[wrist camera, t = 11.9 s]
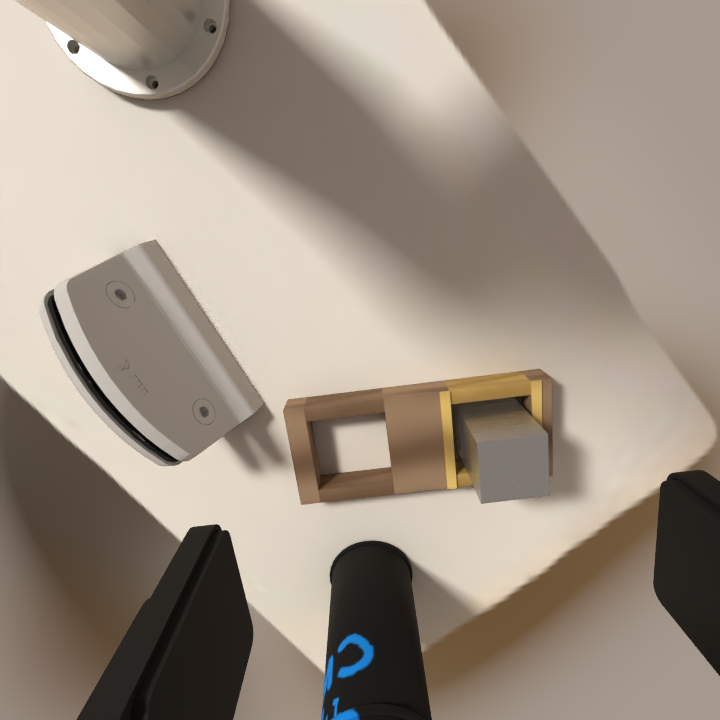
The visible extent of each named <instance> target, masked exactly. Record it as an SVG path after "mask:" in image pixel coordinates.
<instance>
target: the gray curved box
mask: <svg viewBox="0 0 720 720" xmlns="http://www.w3.org/2000/svg"><path fill="white" fill-rule="evenodd" d="M39 312H40V315H41V318H42V322H43V325H44V328H45V330H46V333H47V335H48V338H49V340H50V342H51V345H52V347H53V349H54V351H55V353H56V355H57V357H58V359H59V361H60V363H61V365H62V366H63V368H64V370H65V372H66V373H67V375H68V377H69V378H70V380H71V381H72V383H73V384H74V386H75V387H76V389H77V390H78V392H79V393H80V394H81V396H82V397H83V398H84V400H85V401H86V402H87V404H88V405H89V406H90V407H91V408H92V409H93V411H94V412H95V413H96V414H97V415H98V416H99V417H100V419H101V420H102V421H103V422H104V423H105V424H106V425H107V426H108V427H109V428H110V429H111V430H112V431H113V432H114V433H116V434H117V435H118V436H119V437H120V438H121V439H122V440H123V441H125V442H126V443H127V444H128V445H130V446H131V447H132V448H133V449H135V450H136V451H138V452H139V453H140V454H142V455H143V456H144V457H146V458H148V459H149V460H151V461H153V462H154V463H156V464H157V465H160V466H175V465H178V464H180V463H182V462H183V461H189V460H191V459H192V458H194V457H195V456H197V455H198V454H199V453H201V452H202V451H204V450H205V449H206V448H208V447H209V446H210V445H212V444H213V443H214V442H216V441H217V440H218V439H220V438H221V437H223V436H224V435H225V434H227V433H228V432H229V431H231V430H232V429H233V428H235V427H236V426H237V425H239V424H240V423H242V422H243V421H244V420H246V419H247V418H248V417H250V416H251V415H252V414H254V413H255V412H256V411H257V410H258V409H259V408H260V407H261V406H262V405H263V404H264V402H263V400H262V399H261V397H260V396H259V394H258V393H257V391H256V390H255V388H254V387H253V385H252V384H251V382H250V381H249V379H248V378H247V376H246V375H245V373H244V372H243V370H242V369H241V367H240V366H239V364H238V363H237V361H236V360H235V358H234V357H233V355H232V354H231V352H230V351H229V349H228V348H227V346H226V345H225V343H224V342H223V340H222V339H221V337H220V336H219V334H218V333H217V331H216V330H215V328H214V327H213V325H212V324H211V322H210V321H209V319H208V318H207V316H206V315H205V313H204V312H203V310H202V309H201V307H200V306H199V304H198V303H197V301H196V300H195V298H194V297H193V295H192V294H191V292H190V291H189V289H188V288H187V286H186V285H185V283H184V282H183V280H182V279H181V277H180V276H179V274H178V273H177V271H176V270H175V268H174V267H173V265H172V264H171V262H170V261H169V259H168V258H167V256H166V255H165V253H164V252H163V250H162V249H161V247H160V246H159V244H158V243H157V241H156V240H152V241H149V242H145V243H142V244H139V245H137V246H135V247H132V248H130V249H127V250H125V251H122V252H120V253H118V254H116V255H114V256H112V257H110V258H108V259H106V260H104V261H102V262H100V263H98V264H96V265H94V266H92V267H90V268H88V269H86V270H84V271H82V272H80V273H78V274H76V275H74V276H72V277H70V278H68V279H66V280H64V281H62V282H60V283H59V284H58V285H57V286H56V287H55V289H53V290H51V291H49V292H48V293H47V294H46V295H45V297H44V299H43V301H42V302H41V304H40V307H39Z"/></svg>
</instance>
